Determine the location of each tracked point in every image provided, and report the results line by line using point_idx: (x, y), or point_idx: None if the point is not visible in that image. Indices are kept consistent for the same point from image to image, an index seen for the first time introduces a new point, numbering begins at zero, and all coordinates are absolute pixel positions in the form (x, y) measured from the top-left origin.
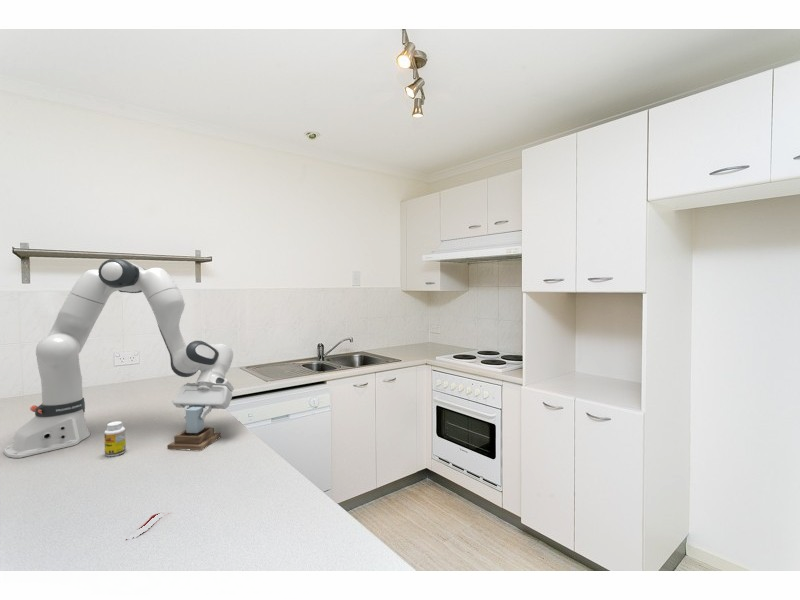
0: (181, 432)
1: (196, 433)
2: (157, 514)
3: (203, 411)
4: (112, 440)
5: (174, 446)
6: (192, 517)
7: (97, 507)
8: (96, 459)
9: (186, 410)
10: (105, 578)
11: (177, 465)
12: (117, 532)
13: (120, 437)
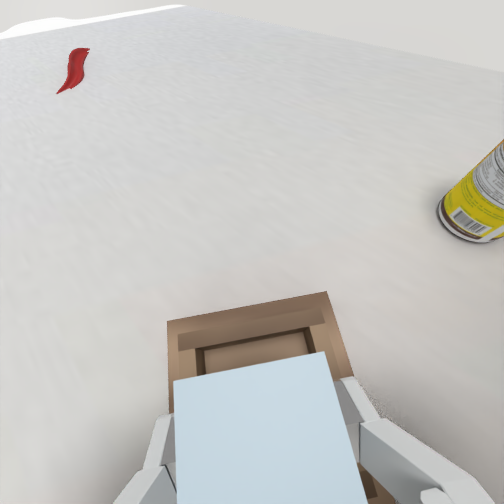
0: (336, 368)
1: None
2: (68, 73)
3: (147, 489)
4: (488, 154)
5: (292, 299)
6: (12, 94)
7: (204, 72)
8: None
9: (311, 355)
10: (65, 22)
11: (178, 214)
12: (113, 53)
13: (489, 170)
